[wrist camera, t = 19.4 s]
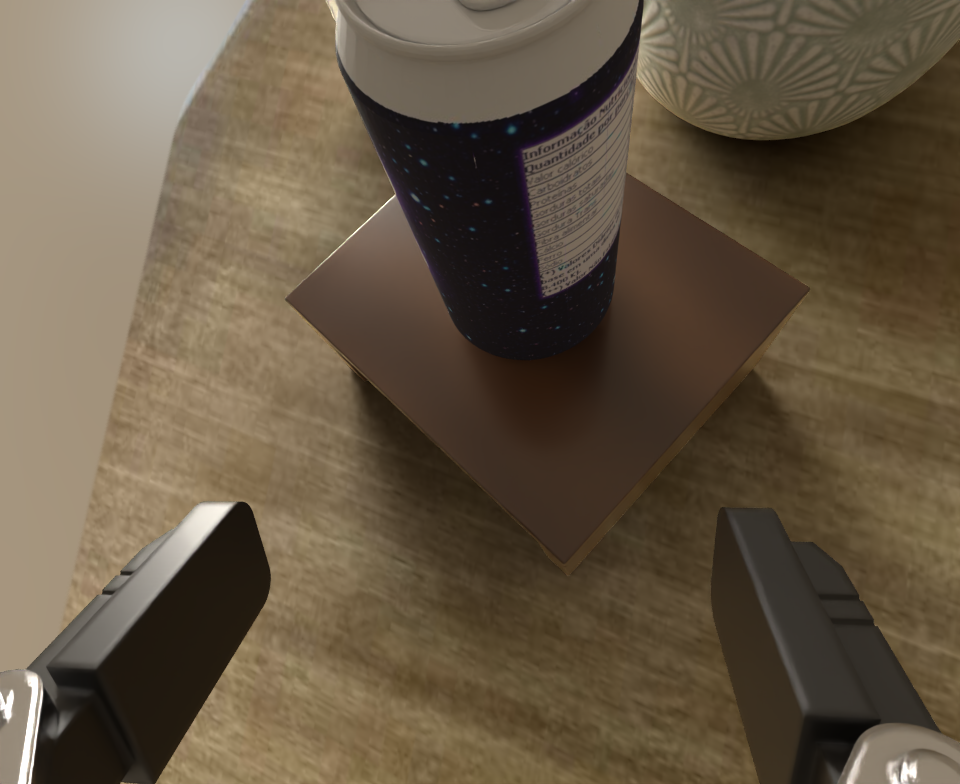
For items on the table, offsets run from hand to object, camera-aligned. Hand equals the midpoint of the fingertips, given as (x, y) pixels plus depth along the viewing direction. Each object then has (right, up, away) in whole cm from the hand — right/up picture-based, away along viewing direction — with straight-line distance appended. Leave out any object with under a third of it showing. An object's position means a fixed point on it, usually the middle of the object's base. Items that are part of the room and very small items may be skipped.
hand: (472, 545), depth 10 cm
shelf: (+3, +4, +17) cm, 18 cm away
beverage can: (+2, +6, +11) cm, 12 cm away
